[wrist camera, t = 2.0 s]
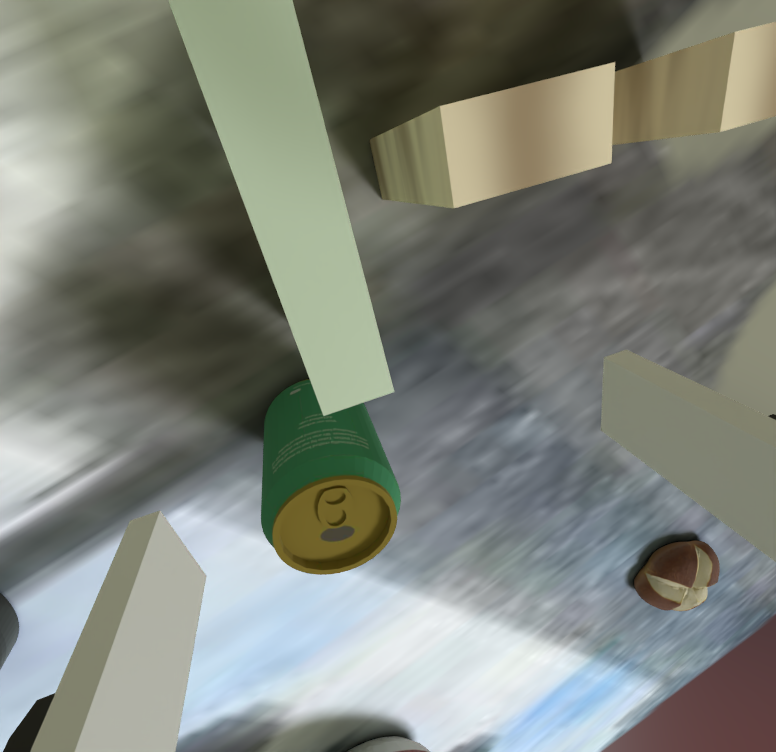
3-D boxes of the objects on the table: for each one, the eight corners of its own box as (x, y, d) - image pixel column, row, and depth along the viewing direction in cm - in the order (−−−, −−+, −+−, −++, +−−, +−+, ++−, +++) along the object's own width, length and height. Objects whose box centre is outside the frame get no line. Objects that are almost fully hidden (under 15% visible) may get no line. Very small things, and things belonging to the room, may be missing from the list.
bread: (668, 592, 61) (699, 623, 56) (618, 588, 56) (647, 622, 52) (714, 537, 57) (751, 567, 53) (665, 529, 53) (700, 560, 49)
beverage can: (269, 464, 33) (268, 594, 22) (259, 377, 29) (251, 482, 19) (364, 452, 35) (403, 566, 24) (364, 368, 31) (411, 460, 21)
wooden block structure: (382, 199, 26) (453, 208, 16) (369, 139, 25) (439, 106, 14) (641, 127, 29) (851, 94, 18) (645, 68, 27) (878, -5, 17)
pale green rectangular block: (350, 318, 29) (394, 391, 19) (305, 332, 29) (323, 416, 18) (258, 2, 21) (244, -183, 10) (192, 16, 20) (107, -162, 10)
